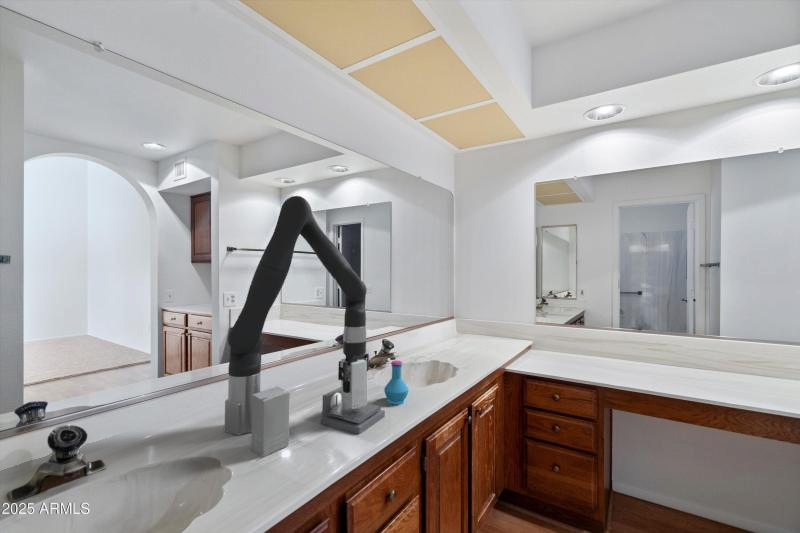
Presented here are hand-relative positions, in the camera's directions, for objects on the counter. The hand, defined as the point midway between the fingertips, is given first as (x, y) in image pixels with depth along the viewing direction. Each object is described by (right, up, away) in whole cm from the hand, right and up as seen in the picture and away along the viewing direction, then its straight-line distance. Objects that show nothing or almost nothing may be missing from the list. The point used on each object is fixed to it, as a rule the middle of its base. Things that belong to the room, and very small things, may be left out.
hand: (353, 388), depth 120 cm
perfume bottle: (+14, -11, +18) cm, 25 cm away
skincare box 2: (0, -5, 0) cm, 5 cm away
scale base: (0, -10, 0) cm, 10 cm away
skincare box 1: (-21, -10, -20) cm, 30 cm away
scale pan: (0, -8, 0) cm, 8 cm away
